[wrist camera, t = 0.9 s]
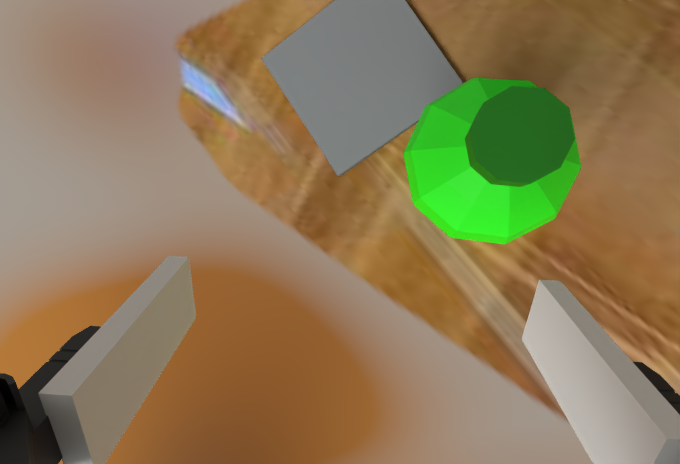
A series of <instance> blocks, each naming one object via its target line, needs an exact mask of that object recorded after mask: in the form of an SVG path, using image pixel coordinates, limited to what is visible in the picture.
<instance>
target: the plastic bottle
mask: <svg viewBox="0 0 680 464" xmlns="http://www.w3.org/2000/svg"><path fill="white" fill-rule="evenodd" d="M403 154H404V160H405V165H406V170H407V175H408V180H409V185H410V190H411V196H412V201H413V204H414V205H415V206H416V207H417V208H418V209H419V210H420V211H421V212H422V213H423V214H424V215H425V216H426V217H428V218H429V219H430V220H431V221H432V222H433V223H434V224H435V225H436V226H437V227H439V228H440V229H441V230H442V231H444V232H445V233H446V234H447V235H448V236H449V237H451V238H459V239H467V240H475V241H483V242H491V243H499V244H506V243H508V242H510V241H512V240H514V239H516V238H518V237H520V236H522V235H524V234H526V233H528V232H530V231H532V230H534V229H536V228H538V227H540V226H542V225H544V224H546V223H548V222H549V221H551V220H553V219H555V218H556V216H557V214H558V212H559V210H560V208H561V206H562V204H563V202H564V200H565V199H566V197H567V195H568V193H569V191H570V189H571V187H572V185H573V183H574V181H575V179H576V177H577V175H578V173H579V172H580V170H581V163H580V158H579V153H578V148H577V143H576V138H575V133H574V127H573V122H572V117H571V114H570V110H569V108H568V107H567V106H566V105H565V104H564V103H562V102H561V101H560V100H559V99H557V98H556V97H555V96H554V95H553V94H551V93H550V92H549V91H548V90H546V89H545V88H538V87H537V86H536V85H535V84H534V83H532V82H531V81H524V80H505V79H486V78H471V79H470V80H468V81H466V82H465V83H463V84H461V85H460V86H458V87H456V88H455V89H453V90H451V91H450V92H448V93H446V94H445V95H443V96H441V97H440V98H438V99H436V100H435V101H433V102H431V103H430V104H428V105H426V106H425V108H424V110H423V112H422V114H421V117H420V119H419V121H418V123H417V125H416V127H415V129H414V132H413V134H412V136H411V138H410V140H409V142H408V145H407V147H406V149H405V151H404V153H403Z"/></svg>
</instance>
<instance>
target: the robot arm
mask: <svg viewBox="0 0 680 464" xmlns="http://www.w3.org/2000/svg"><path fill="white" fill-rule="evenodd" d="M195 318H196V312H195V304H194V296H193V287H192V279H191V272H190V263H189V257H179V256H168V257H167V258H166V259H165V260H164V261H163V262H162V263H161V265H160V266H159V267H158V268H157V269H156V270H155V271H154V272H153V273H152V274H151V275H150V276H149V277H148V278H147V279H146V280H145V281H144V282H143V284H141V286H140V287H139V288H138V289H137V290H136V291H135V292H134V293H133V294H132V295H131V296H130V297H129V298H128V299H127V300H126V301H125V302H124V303H123V305H122V306H121V307H120V308H119V309H118V310H117V311H116V312H115V313H114V314H113V315H112V316H111V317H110V318H109V319H108V320H107V321H106V322H105V324H104V325H103V326H102V327H99V326H89V327H88V328H86V329H84V330H83V331H81V332H79V333H78V334H76V335H74V336H73V337H71V338H70V340H68V341H67V343H65V344H64V346H62V347H61V348H60V351H57V352H56V353H55V354H54V355H53V356H52V357H51V358H50V359H49V362H46V363H45V364H44V365H43V366H42V367H41V368H40V369H39V370H38V371H37V372H36V373H35V374H34V375H33V376H32V377H31V378H30V379H29V380H28V381H27V382H26V383H25V384H24V385H23V386H22V387H21V388H20V389H18V388H17V385H16V382H15V380H14V378H13V377H12V376H10V375H7V374H0V464H58V463H59V462H60V460H61V459H62V461H63V464H105V463H106V461H107V460H108V458H109V457H110V455H111V453H112V452H113V450H114V448H115V447H116V445H117V444H118V442H119V440H120V439H121V437H122V436H123V434H124V432H125V431H126V429H127V427H128V426H129V424H130V423H131V421H132V420H133V418H134V416H135V415H136V413H137V411H138V410H139V408H140V407H141V405H142V403H143V401H144V400H145V399H146V397H147V395H148V394H149V392H150V391H151V389H152V387H153V386H154V384H155V383H156V381H157V379H158V378H159V376H160V375H161V373H162V371H163V370H164V368H165V366H166V365H167V363H168V362H169V360H170V358H171V357H172V355H173V354H174V352H175V350H176V349H177V347H178V345H179V344H180V342H181V341H182V339H183V338H184V336H185V334H186V333H187V331H188V329H189V328H190V326H191V325H192V323H193V321H194V320H195ZM522 340H523V342H524V344H525V346H526V347H527V349H528V351H529V353H530V354H531V356H532V358H533V360H534V361H535V363H536V365H537V367H538V368H539V370H540V372H541V374H542V375H543V377H544V379H545V381H546V382H547V384H548V386H549V388H550V389H551V391H552V393H553V395H554V396H555V398H556V400H557V401H558V403H559V405H560V407H561V408H562V410H563V412H564V414H565V415H566V417H567V419H568V421H569V422H570V424H571V426H572V428H573V429H574V431H575V433H576V435H577V436H578V438H579V440H580V442H581V443H582V445H583V446H584V449H585V450H586V452H587V454H588V455H589V457H590V459H591V461H592V462H593V464H680V396H679V395H678V394H677V393H675V392H674V391H675V390H674V389H673V388H672V387H671V386H670V385H669V384H668V383H667V382H666V381H665V380H664V379H663V378H662V377H661V376H660V375H659V374H657V373H656V372H655V371H653V370H652V369H650V368H649V367H647V366H646V365H645V364H643V363H642V362H632V361H631V360H630V359H629V357H628V356H627V355H626V354H625V353H624V352H623V351H622V350H621V348H620V347H619V346H618V345H617V344H616V343H615V342H614V341H613V340H612V338H611V337H610V336H609V335H608V334H607V333H606V332H605V331H604V329H603V328H602V327H601V326H600V325H599V324H598V323H597V322H596V320H595V319H594V318H593V317H592V316H591V315H590V314H589V313H588V312H587V310H586V309H585V308H584V307H583V306H582V305H581V304H580V303H579V301H578V300H577V299H576V298H575V297H574V296H573V295H572V294H571V292H570V291H569V290H568V289H567V288H566V287H565V286H564V285H563V284H562V282H561V281H552V280H539V283H538V286H537V290H536V293H535V296H534V300H533V303H532V306H531V310H530V313H529V316H528V320H527V323H526V326H525V330H524V333H523V336H522Z"/></svg>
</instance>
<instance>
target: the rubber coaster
mask: <svg viewBox="0 0 680 464" xmlns="http://www.w3.org/2000/svg"><path fill="white" fill-rule="evenodd" d="M261 59H262V60H263V62H264V64H265V65H266V67H267V68H268V70H269V71H270V73H271V74H272V76H273V77H274V79H275V80H276V82H277V83H278V85H279V87H280V88H281V90H282V91H283V93H284V94H285V96H286V97H287V99H288V100H289V102H290V103H291V105H292V106H293V108H294V109H295V111H296V113H297V114H298V116H299V117H300V119H301V120H302V122H303V123H304V125H305V126H306V128H307V129H308V131H309V132H310V134H311V135H312V137H313V139H314V140H315V142H316V143H317V145H318V146H319V148H320V149H321V151H322V152H323V154H324V155H325V157H326V158H327V160H328V161H329V163H330V165H331V166H332V168H333V169H334V171H335V172H336V174H337V175H338V176H339V177H340V176H341V175H342V174H344V173H345V172H347V171H348V170H350V169H351V168H353V167H354V166H355V165H357V164H358V163H360V162H361V161H363V160H364V159H366V158H367V157H368V156H370V155H371V154H373V153H374V152H376V151H377V150H379V149H380V148H381V147H383V146H384V145H386V144H387V143H389V142H390V141H391V140H393V139H394V138H396V137H397V136H399V135H400V134H402V133H403V132H404V131H406V130H407V129H409V128H410V127H412V126H413V125H415V124H416V123H417V122H418V121H419V119H420V117H421V114H422V112H423V110H424V108H425V106H426V105H428V104H430V103H431V102H433V101H435V100H436V99H438V98H440V97H441V96H443V95H445V94H446V93H448V92H450V91H451V90H453V89H455V88H456V87H458V86H460V85H461V84H463V82H462V81H461V79H460V78H459V76H458V75H457V74H456V72H455V71H454V69H453V68H452V66H451V65H450V64H449V62H448V61H447V59H446V58H445V56H444V55H443V54H442V52H441V51H440V49H439V48H438V46H437V45H436V44H435V42H434V41H433V39H432V38H431V36H430V35H429V33H428V32H427V31H426V29H425V28H424V26H423V25H422V23H421V22H420V21H419V19H418V18H417V16H416V15H415V13H414V12H413V11H412V9H411V8H410V6H409V5H408V3H407V2H406V1H405V0H335V1H333V2H332V3H331V4H329V5H328V6H327V7H326V8H324V9H323V10H322V11H321V12H319V13H318V14H317V15H316V16H314V17H313V18H312V19H310V20H309V21H308V22H307V23H305V24H304V25H303V26H302V27H300V28H299V29H298V30H297V31H295V32H294V33H293V34H291V35H290V36H289V37H288V38H286V39H285V40H284V41H283V42H281V43H280V44H279V45H278V46H276V47H275V48H274V49H272V50H271V51H270V52H269V53H267V54H266V55H265V56H264V57H262V58H261Z"/></svg>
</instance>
